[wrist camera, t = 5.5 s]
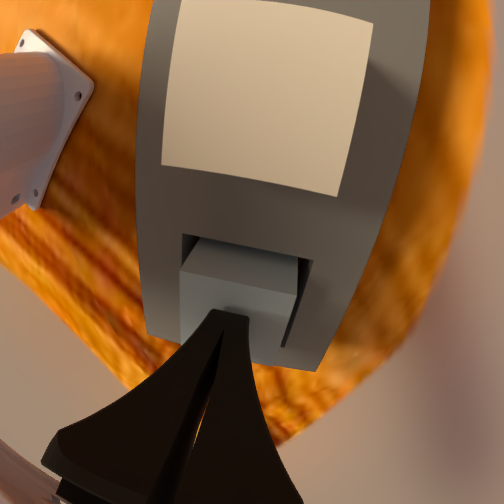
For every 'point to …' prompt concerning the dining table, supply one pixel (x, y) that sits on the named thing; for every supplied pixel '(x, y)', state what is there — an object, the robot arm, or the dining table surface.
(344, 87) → the white key
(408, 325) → the dining table surface
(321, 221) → the key panel
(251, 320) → the slate key
